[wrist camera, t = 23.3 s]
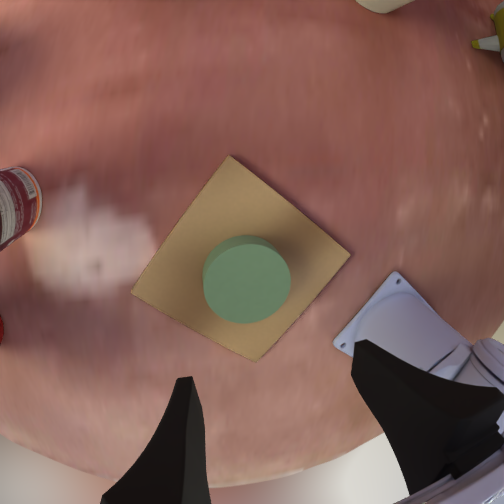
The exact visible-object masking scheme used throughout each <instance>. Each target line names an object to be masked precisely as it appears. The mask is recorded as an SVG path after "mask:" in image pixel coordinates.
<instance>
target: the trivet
mask: <svg viewBox="0 0 504 504" xmlns="http://www.w3.org/2000/svg"><path fill="white" fill-rule="evenodd" d="M241 235H250V236H256V237H259V238H262V239H264V240H266V241H268V242H269V243H271V244H272V245H273V246H274V247H275V248H276V250H277V251H278V252H279V254H280V255H281V256H282V258H283V259H284V260H285V262H286V264H287V265H288V268H289V271H290V276H291V285H290V290H289V293H288V296H287V298H286V300H285V302H284V303H283V305H282V306H281V307H280V308H279V309H278V310H277V311H276V312H275V313H273V314H272V315H271V316H269V317H267V318H265V319H263V320H261V321H258V322H254V323H247V324H240V323H234V322H230V321H227V320H225V319H223V318H221V317H220V316H218V315H217V314H216V313H215V312H214V311H213V310H212V309H211V308H210V307H209V305H208V303H207V301H206V299H205V295H204V289H203V278H202V273H203V266H204V263H205V261H206V259H207V257H208V255H209V254H210V252H211V251H212V250H213V249H214V248H215V247H216V246H217V245H218V244H220V243H221V242H223V241H225V240H227V239H229V238H232V237H235V236H241ZM350 256H351V254H350V253H348V252H347V251H346V250H345V249H344V248H343V247H342V246H340V245H339V244H338V243H337V242H336V241H335V240H334V239H332V238H331V237H330V236H329V235H328V234H327V233H325V232H324V231H323V230H322V229H321V228H320V227H318V226H317V225H316V224H315V223H314V222H312V221H311V220H310V219H309V218H308V217H306V216H305V215H304V214H303V213H302V212H300V211H299V210H298V209H297V208H296V207H294V206H293V205H292V204H291V203H290V202H288V201H287V200H286V199H285V198H283V197H282V196H281V195H280V194H278V193H277V192H276V191H275V190H273V189H272V188H271V187H270V186H268V185H267V184H266V183H265V182H263V181H262V180H261V179H260V178H258V177H257V176H256V175H255V174H253V173H252V172H251V171H249V170H248V169H247V168H246V167H244V166H243V165H242V164H240V163H239V162H238V161H237V160H235V159H234V158H233V157H231V156H230V155H228V156H227V157H226V158H225V160H224V161H223V162H222V163H221V165H220V166H219V167H218V169H217V170H216V171H215V172H214V174H213V175H212V176H211V178H210V179H209V180H208V182H207V183H206V184H205V185H204V187H203V188H202V189H201V191H200V192H199V193H198V195H197V196H196V197H195V199H194V200H193V202H192V203H191V204H190V206H189V207H188V208H187V210H186V211H185V212H184V214H183V215H182V217H181V218H180V219H179V221H178V222H177V224H176V225H175V226H174V228H173V229H172V231H171V232H170V233H169V235H168V236H167V238H166V239H165V240H164V242H163V243H162V245H161V246H160V248H159V249H158V251H157V252H156V253H155V255H154V256H153V258H152V259H151V261H150V262H149V264H148V265H147V267H146V268H145V270H144V271H143V273H142V274H141V276H140V277H139V279H138V280H137V282H136V283H135V285H134V286H133V288H132V290H131V294H133V295H135V296H136V297H138V298H139V299H141V300H143V301H144V302H146V303H148V304H149V305H151V306H153V307H154V308H156V309H158V310H159V311H161V312H163V313H164V314H166V315H168V316H170V317H171V318H173V319H175V320H177V321H178V322H180V323H182V324H184V325H185V326H187V327H189V328H191V329H193V330H194V331H196V332H198V333H200V334H202V335H203V336H205V337H207V338H209V339H211V340H213V341H215V342H216V343H218V344H220V345H222V346H224V347H226V348H228V349H230V350H232V351H234V352H236V353H238V354H240V355H241V356H243V357H245V358H247V359H249V360H251V361H253V362H257V361H258V360H259V359H260V358H261V357H262V356H263V355H264V354H265V353H266V352H267V351H268V349H269V348H270V347H271V346H272V345H273V344H274V343H275V342H276V341H277V340H278V339H279V338H280V337H281V335H282V334H283V333H284V332H285V331H286V330H287V329H288V328H289V327H290V326H291V324H292V323H293V322H294V321H295V320H296V319H297V318H298V317H299V316H300V314H301V313H302V312H303V311H304V310H305V309H306V308H307V306H308V305H309V304H310V303H311V302H312V301H313V300H314V298H315V297H316V296H317V295H318V294H319V293H320V291H321V290H322V289H323V288H324V287H325V286H326V284H327V283H328V282H329V281H330V280H331V279H332V277H333V276H334V275H335V274H336V273H337V271H338V270H339V269H340V268H341V267H342V265H343V264H344V263H345V262H346V260H347V259H348V258H349V257H350Z"/></svg>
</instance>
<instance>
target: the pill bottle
mask: <svg viewBox="0 0 504 504" xmlns="http://www.w3.org/2000/svg"><path fill="white" fill-rule="evenodd" d="M41 208H42V194H41V190H40V187H39V184H38V182H37V180H36V179H35V177H34V176H33V175H32V174H31V173H30V172H29V171H28V170H26V169H24V168H21V167H8V168H4V169H0V251H2V250H3V249H4V248H6V247H7V246H9V245H10V244H11V243H13V242H14V241H15V240H17V239H18V238H19V237H21V236H22V235H24V234H25V233H27V232H28V231H30V230H31V229H32V228H33V227H34V226H35V224H36V223H37V221H38V219H39V217H40V213H41Z"/></svg>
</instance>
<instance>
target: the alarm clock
mask: <svg viewBox="0 0 504 504" xmlns="http://www.w3.org/2000/svg"><path fill="white" fill-rule="evenodd" d="M490 18H491V19H492V20H493V21H494V24H495V29H496V34H497V35H495V36H491V37H487V38H483V39H478V40H474V41H471V43H472V46H473V48H477V49H486V50H493V51H499V52H500V55H501V58H502V61H503V63H504V1H503V2H501V3H500V4H499V5H498V6H497V8H496V10H495V11H494V14H491V15H490Z"/></svg>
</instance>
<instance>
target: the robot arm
mask: <svg viewBox="0 0 504 504" xmlns="http://www.w3.org/2000/svg"><path fill="white" fill-rule="evenodd" d="M398 279H399V280H398ZM397 280H398V282H397ZM343 343H344V344H343ZM341 344H343V345H341ZM333 345H334V346H335V347H336V348H337V349H339V350H341V351H342V352H344V353H346V354H348V355H349V356H351V357H353V362H352V370H351V376H352V378H353V381H354V383H355V385H356V387H357V389H358V391H359V393H360V395H361V396H362V398H363V399H364V401H365V402H366V404H367V406H368V407H369V409H370V410H371V412H372V413H373V415H374V416H375V418H376V419H377V421H378V422H379V424H380V425H381V427H382V429H383V431H384V432H385V434H386V436H387V438H388V440H389V443H390V445H391V447H392V449H393V451H394V453H395V456H396V458H397V461H398V463H399V465H400V468H401V471H402V473H403V476H404V479H405V482H406V485H407V488H408V491H409V495H410V496H409V497H407V498H405V499H402V500H401V501H398V502H396V503H394V504H490V503H491V502H492V501H494V500H495V499H496V498H497V497H499V496H504V345H503V344H502V343H500V342H498V341H496V340H494V339H492V338H486V339H483V340H482V339H480V340H477V341H476V343H475V345H474V346H473V345H472V344H471V343H470V342H469V341H468V340H466V339H465V338H464V337H463V336H462V335H461V334H460V333H458V332H457V331H456V330H455V329H454V328H453V327H451V326H450V325H449V324H448V323H447V322H445V321H444V320H443V319H442V318H441V317H440V316H439V315H438V314H437V313H436V312H435V311H434V310H433V309H432V307H431V306H430V305H429V304H428V303H427V302H426V301H425V300H424V299H423V298H422V297H421V296H420V295H419V294H418V292H417V291H416V290H415V289H414V288H413V287H412V286H411V285H410V284H409V283H408V282H407V281H406V280H405V279H404V278H403V277H402V276H401V275H400V274H399V273H398V272H396V271H394V272H392V273H391V274H390V275H389V276H388V278H387V279H386V280H385V281H384V283H383V284H382V285H381V286H380V287H379V289H378V290H377V291H376V292H375V293H374V295H373V296H372V297H371V298H370V299H369V301H368V302H367V303H366V304H365V305H364V306H363V308H362V309H361V310H360V311H359V312H358V313H357V314H356V316H355V317H354V318H353V319H352V320H351V321H350V322H349V323H348V325H347V326H346V327H345V328H344V329H343V330H342V331H341V332H340V333H339V334H338V336H337V337H336V338H335V339H334V340H333ZM100 504H211V499H210V494H209V488H208V482H207V474H206V452H205V426H204V418H203V411H202V406H201V403H200V400H199V397H198V393H197V390H196V387H195V384H194V380H193V377H192V376H190V377H182V378H178V379H177V380H176V383H175V386H174V389H173V392H172V395H171V398H170V401H169V403H168V406H167V408H166V410H165V413H164V415H163V417H162V419H161V421H160V423H159V425H158V427H157V429H156V431H155V433H154V435H153V437H152V438H151V440H150V442H149V443H148V445H147V446H146V448H145V449H144V451H143V452H142V454H141V455H140V456H139V458H138V459H137V460H136V462H135V463H134V464H133V465H132V467H131V468H130V469H129V470H128V471H127V472H126V473H125V474H124V476H123V477H122V478H121V479H120V480H119V481H118V482H117V483H116V484H115V485H114V486H112V487H111V488H110V489H109V490H108V491H107V492H106V493H104V494H103V495H102V499H101V502H100Z"/></svg>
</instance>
